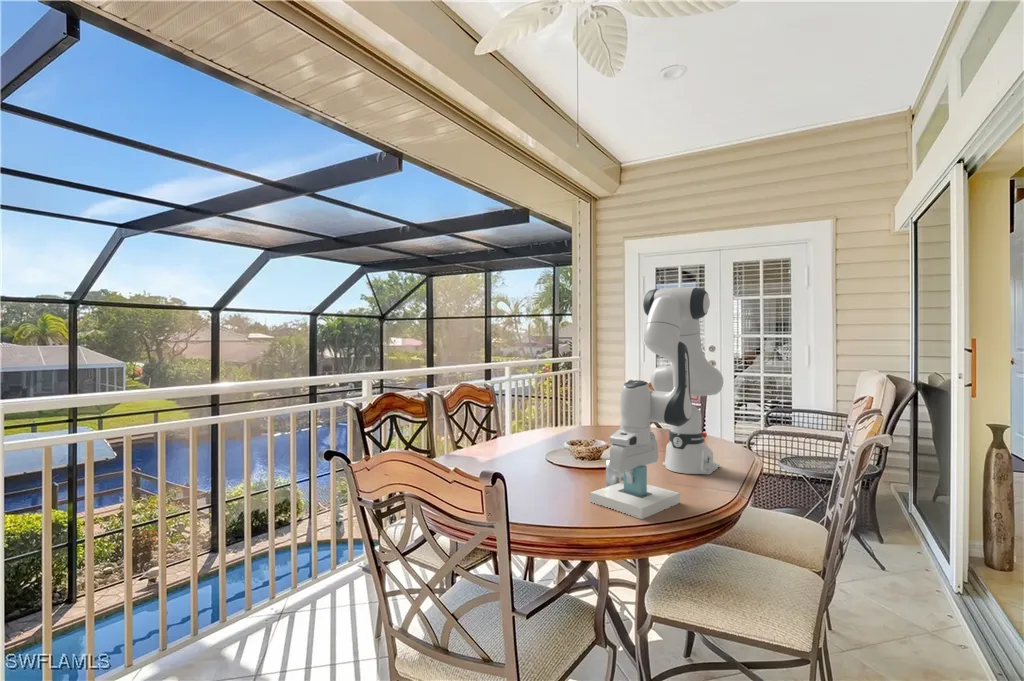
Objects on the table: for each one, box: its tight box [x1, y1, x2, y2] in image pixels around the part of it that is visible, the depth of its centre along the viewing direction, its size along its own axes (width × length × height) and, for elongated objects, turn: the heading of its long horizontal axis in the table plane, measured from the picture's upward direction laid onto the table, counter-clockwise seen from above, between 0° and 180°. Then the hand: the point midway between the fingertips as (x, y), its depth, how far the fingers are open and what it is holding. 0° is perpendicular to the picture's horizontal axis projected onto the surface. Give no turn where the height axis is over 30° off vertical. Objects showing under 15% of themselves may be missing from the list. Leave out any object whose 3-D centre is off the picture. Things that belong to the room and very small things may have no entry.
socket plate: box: [589, 481, 681, 520], centre depth 144 cm, size 20×18×3 cm
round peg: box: [605, 458, 623, 487], centre depth 158 cm, size 5×5×9 cm
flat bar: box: [623, 465, 648, 496], centre depth 144 cm, size 3×6×9 cm, turn 41°
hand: (635, 481), depth 144 cm, fingers closed on flat bar, 3 cm apart
